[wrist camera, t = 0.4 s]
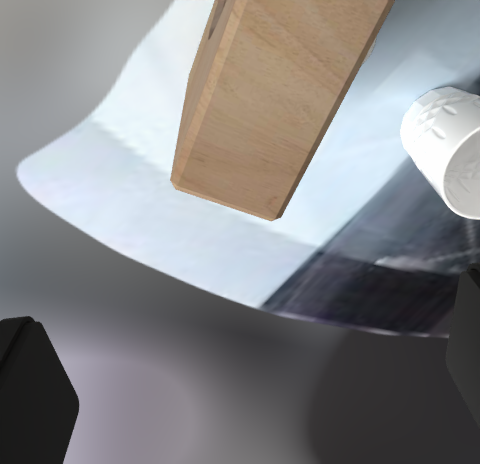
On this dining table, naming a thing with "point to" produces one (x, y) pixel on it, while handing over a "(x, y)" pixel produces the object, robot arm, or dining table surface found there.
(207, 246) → the dining table surface
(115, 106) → the dining table surface
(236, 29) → the decorative block
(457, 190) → the white cup
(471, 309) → the robot arm
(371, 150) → the dining table surface
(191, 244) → the dining table surface
